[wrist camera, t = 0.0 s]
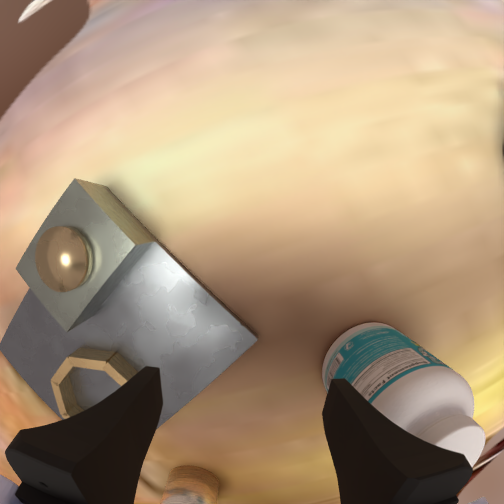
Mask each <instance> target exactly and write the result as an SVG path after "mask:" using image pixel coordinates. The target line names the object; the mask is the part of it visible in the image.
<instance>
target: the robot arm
mask: <svg viewBox="0 0 504 504" xmlns="http://www.w3.org/2000/svg"><path fill="white" fill-rule="evenodd" d="M162 407H163V396H162V387H161V377H160V368H158V367H151V366H145V367H144V368H143V369H141V370H140V371H139V372H138V373H137V374H135V375H134V376H133V377H132V378H131V379H130V380H128V381H127V382H126V383H125V384H123V385H122V386H121V387H120V388H118V389H117V390H116V391H115V392H113V393H112V394H110V395H109V396H108V397H106V398H105V399H103V400H102V401H100V402H99V403H97V404H95V405H94V406H92V407H90V408H88V409H86V410H85V411H83V412H80V413H78V414H76V415H73V416H71V417H69V418H66V419H64V420H61V421H58V422H55V423H52V424H48V425H44V426H40V427H35V428H30V429H23V430H20V431H19V433H18V434H17V435H16V437H15V438H14V439H13V441H12V442H11V443H10V445H9V446H8V448H7V449H6V451H5V454H6V458H7V460H8V462H9V464H10V465H11V467H12V468H13V470H14V471H15V473H16V474H17V475H18V477H19V478H20V480H21V481H22V483H21V484H20V486H18V485H16V484H15V483H14V482H12V481H11V480H9V479H7V478H6V477H4V476H2V475H0V504H134V499H135V494H136V489H137V484H138V480H139V476H140V472H141V468H142V465H143V462H144V459H145V456H146V454H147V451H148V449H149V446H150V443H151V441H152V438H153V436H154V433H155V431H156V428H157V426H158V423H159V419H160V415H161V411H162ZM322 416H323V424H324V430H325V435H326V439H327V442H328V446H329V449H330V452H331V456H332V459H333V463H334V466H335V470H336V474H337V478H338V485H339V492H340V500H341V504H457V503H458V501H459V500H458V498H457V496H456V494H457V493H458V492H459V491H460V490H461V489H462V488H463V486H464V485H465V484H466V483H467V482H468V480H469V479H470V477H471V475H472V472H473V469H472V467H471V465H470V463H469V462H468V460H467V459H466V457H465V455H464V454H462V453H458V452H454V451H451V450H447V449H444V448H441V447H438V446H436V445H433V444H431V443H428V442H426V441H424V440H422V439H420V438H418V437H416V436H414V435H412V434H411V433H409V432H407V431H405V430H404V429H402V428H401V427H399V426H398V425H396V424H395V423H393V422H392V421H391V420H389V419H388V418H387V417H386V416H384V415H383V414H382V413H381V412H379V411H378V410H377V409H376V408H375V407H374V406H373V405H372V404H370V403H369V402H368V401H367V400H366V399H365V398H364V397H363V396H362V395H361V394H360V393H359V392H358V391H357V390H356V389H355V388H354V387H353V386H352V385H351V384H350V383H349V382H348V381H347V380H346V379H345V378H341V379H331V382H330V386H329V390H328V394H327V397H326V401H325V405H324V408H323V412H322ZM468 504H488V502H487V500H486V498H485V497H481V498H480V499H477V500H475V501H473V502H470V503H468Z"/></svg>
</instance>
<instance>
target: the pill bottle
mask: <svg viewBox="0 0 504 504" xmlns="http://www.w3.org/2000/svg"><path fill="white" fill-rule="evenodd" d="M341 378H345V379H346V380H347V381H348V382H349V383H350V384H351V385H352V386H353V387H354V388H355V389H356V390H357V391H358V392H359V393H360V394H361V395H362V396H363V397H364V398H365V399H366V400H367V401H368V402H369V403H370V404H372V405H373V406H374V407H375V408H376V409H377V410H378V411H379V412H381V413H382V414H383V415H384V416H386V417H387V418H388V419H389V420H391V421H392V422H393V423H395V424H396V425H398V426H399V427H401V428H402V429H404V430H405V431H407V432H409V433H411V434H412V435H414V436H416V437H418V438H420V439H422V440H424V441H426V442H428V443H431V444H433V445H436V446H438V447H441V448H444V449H447V450H451V451H454V452H458V453H462V454H464V455H465V457H466V459H467V460H468V462H469V463H470V465H471V467H473V465H474V464H475V463H476V461H477V460H478V458H479V456H480V455H481V452H482V450H483V448H484V445H485V433H484V430H483V429H482V428H481V427H480V426H479V425H478V424H477V423H476V422H475V421H474V420H473V419H472V418H473V413H474V397H473V393H472V390H471V387H470V386H469V384H468V382H467V381H466V380H465V379H464V378H463V377H462V376H461V375H460V374H458V373H457V372H455V371H454V370H453V369H451V368H450V367H449V366H447V365H446V364H444V363H443V362H441V361H440V360H439V359H437V358H436V357H434V356H433V355H432V354H430V353H429V352H428V351H426V350H425V349H423V348H422V347H421V346H419V345H418V344H416V343H415V342H414V341H412V340H411V339H409V338H408V337H406V336H405V335H404V334H402V333H401V332H399V331H398V330H396V329H395V328H393V327H392V326H389V325H387V324H383V323H376V322H372V323H364V324H360V325H358V326H355V327H353V328H351V329H349V330H348V331H346V332H344V333H343V334H342V335H341V336H340V337H339V338H337V340H336V341H335V342H334V343H333V344H332V346H331V347H330V349H329V350H328V352H327V354H326V356H325V359H324V362H323V367H322V379H323V384H324V387H325V389H326V391H327V394H328V390H329V386H330V382H331V379H341Z"/></svg>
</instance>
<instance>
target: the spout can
mask: <svg viewBox="0 0 504 504" xmlns="http://www.w3.org/2000/svg"><path fill="white" fill-rule="evenodd" d="M218 490H219V481H218V479H217V478H216V476H215V475H214V474H212V473H211V472H209V471H208V470H206V469H203V468H200V467H196V466H179V467H176V468H174V469H173V470H172V471H171V472H170V473H169V476H168V480H167V483H166V486H165V490H164V493H163V496H162V500H161V503H160V504H217V499H218Z"/></svg>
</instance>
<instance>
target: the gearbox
mask: <svg viewBox="0 0 504 504" xmlns="http://www.w3.org/2000/svg"><path fill="white" fill-rule="evenodd" d="M16 270H17V271H18V273H19V274H20V275H21V277H22V278H23V279H24V281H25V282H26V283H27V285H28V286H29V287H30V288H29V290H28V292H27V294H26V295H25V297H24V299H23V301H22V302H21V304H20V306H19V308H18V310H17V311H16V313H15V315H14V317H13V319H12V321H11V323H10V325H9V327H8V329H7V331H6V333H5V335H4V337H3V339H2V341H1V343H0V350H1V352H2V353H3V354H4V356H5V357H6V358H7V360H8V361H9V362H10V363H11V364H12V366H13V367H14V368H15V369H16V371H17V372H18V373H19V374H20V375H21V377H22V378H23V379H24V380H25V381H26V382H27V383H28V385H29V386H30V387H31V388H32V389H33V390H34V391H35V392H36V393H37V394H38V396H39V397H40V398H41V399H42V400H43V401H44V402H45V403H46V404H47V405H48V406H49V407H50V408H51V409H52V410H53V411H54V412H55V413H56V414H57V415H58V416H59V417H60V418H61V419H62V420H64V419H66V418H69V417H71V416H73V415H76V414H78V413H80V412H83V411H85V410H86V409H88V408H90V407H92V406H94V405H95V404H97V403H99V402H100V401H102V400H103V399H105V398H106V397H108V396H109V395H110V394H112V393H113V392H115V391H116V390H117V389H118V388H120V387H121V386H122V385H123V384H125V383H126V382H127V381H128V380H130V379H131V378H132V377H133V376H134V375H135V374H137V373H138V372H139V371H140V370H141V369H143V368H144V367H145V366H151V367H158V368H160V377H161V387H162V396H163V407H162V411H161V415H160V419H159V423H158V426H157V428H158V427H159V426H161V425H162V424H163V423H164V422H166V421H167V420H168V419H169V418H170V417H172V416H173V415H174V414H175V413H176V412H178V411H179V410H180V409H181V408H182V407H183V406H185V405H186V404H187V403H188V402H189V401H191V400H192V399H193V398H194V397H195V396H196V395H197V394H199V393H200V392H201V391H202V390H203V389H204V388H206V387H207V386H208V385H209V384H210V383H211V382H212V381H213V380H215V379H216V378H217V377H218V376H219V375H220V374H221V373H222V372H224V371H225V370H226V369H227V368H228V367H229V366H230V365H231V364H232V363H233V362H235V361H236V360H237V359H238V358H239V357H240V356H241V355H242V354H243V353H244V352H245V351H246V350H248V349H249V348H250V347H251V346H252V345H253V344H254V343H255V342H256V341H257V340H258V335H257V334H256V333H255V332H253V331H252V330H251V329H250V328H249V327H248V326H247V325H246V324H245V323H243V322H242V321H241V320H240V319H239V318H238V317H237V316H236V315H235V314H234V313H233V312H231V311H230V310H229V309H228V308H227V307H226V306H225V305H224V304H223V303H222V302H221V301H220V300H219V299H218V298H216V297H215V296H214V295H213V294H212V293H211V292H210V291H209V290H208V289H207V288H206V287H205V286H204V285H203V284H202V283H201V282H200V281H199V280H198V279H197V278H195V277H194V276H193V275H192V274H191V273H190V272H189V271H188V270H187V269H186V268H185V267H184V266H183V265H182V264H181V263H180V262H179V261H178V260H177V259H176V258H175V257H174V256H173V255H172V254H171V253H170V252H169V251H168V250H167V249H166V248H165V247H164V246H163V245H162V244H161V243H160V242H159V241H158V240H157V239H156V238H155V237H154V236H153V235H152V234H151V233H150V232H149V231H148V230H147V229H146V228H145V227H144V226H143V225H142V224H141V223H140V222H139V221H138V220H137V219H136V217H135V216H134V215H133V214H132V213H131V212H130V211H129V210H128V209H127V208H126V207H125V206H124V205H123V204H122V203H121V202H120V201H119V200H118V199H117V197H116V196H115V195H114V194H113V193H112V192H111V191H110V190H109V189H108V188H107V187H106V186H103V185H99V184H95V183H91V182H87V181H83V180H79V179H74V180H73V181H72V183H71V184H70V185H69V187H68V188H67V189H66V191H65V192H64V193H63V195H62V196H61V198H60V199H59V200H58V202H57V203H56V205H55V206H54V208H53V209H52V210H51V212H50V213H49V215H48V216H47V218H46V219H45V221H44V222H43V224H42V225H41V227H40V229H39V230H38V232H37V233H36V235H35V236H34V238H33V240H32V241H31V243H30V245H29V246H28V248H27V250H26V251H25V253H24V255H23V256H22V258H21V260H20V262H19V263H18V265H17V267H16ZM157 428H156V429H157Z"/></svg>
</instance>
